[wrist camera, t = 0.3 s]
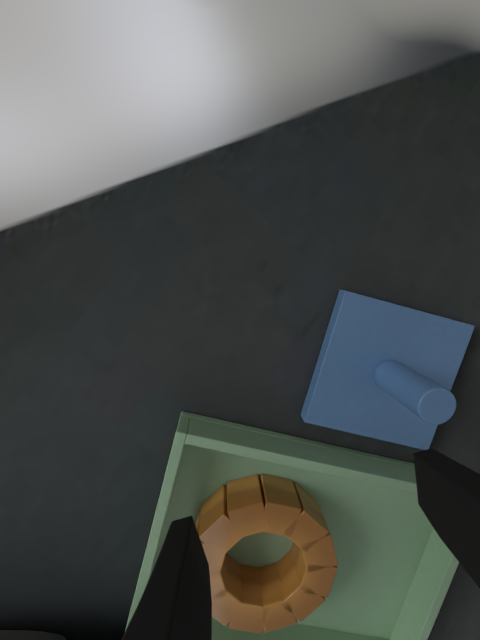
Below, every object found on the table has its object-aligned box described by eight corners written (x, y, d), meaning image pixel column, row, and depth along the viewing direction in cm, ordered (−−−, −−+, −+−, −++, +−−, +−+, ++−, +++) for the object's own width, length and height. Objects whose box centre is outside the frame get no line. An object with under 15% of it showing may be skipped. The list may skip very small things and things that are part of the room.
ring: (301, 599, 22) (312, 642, 20) (179, 577, 22) (174, 620, 19) (339, 489, 21) (355, 520, 19) (211, 462, 20) (210, 490, 18)
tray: (454, 471, 22) (485, 499, 20) (389, 638, 24) (410, 683, 22) (181, 410, 20) (176, 431, 18) (134, 595, 22) (123, 638, 20)
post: (418, 442, 22) (485, 502, 16) (300, 415, 21) (328, 467, 15) (463, 322, 21) (550, 344, 15) (339, 289, 20) (384, 298, 14)
